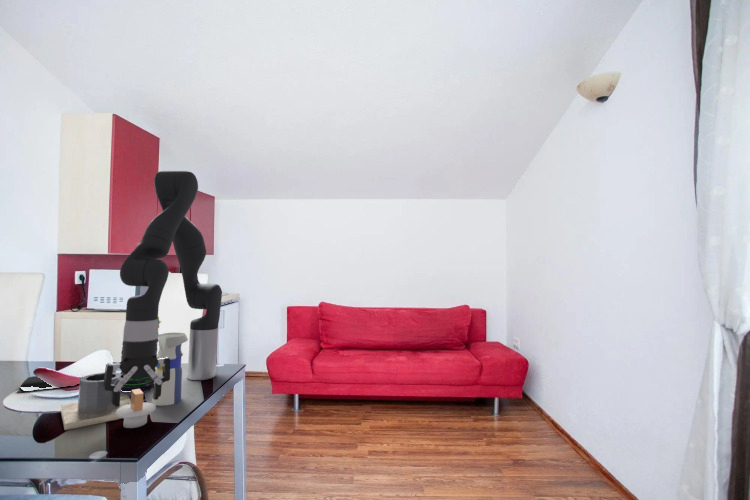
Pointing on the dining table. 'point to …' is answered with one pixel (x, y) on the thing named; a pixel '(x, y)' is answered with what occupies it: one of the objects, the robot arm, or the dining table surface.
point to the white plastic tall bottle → (172, 350)
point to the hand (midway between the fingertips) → (136, 402)
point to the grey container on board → (92, 403)
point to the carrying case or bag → (34, 383)
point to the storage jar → (138, 383)
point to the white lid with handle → (135, 410)
